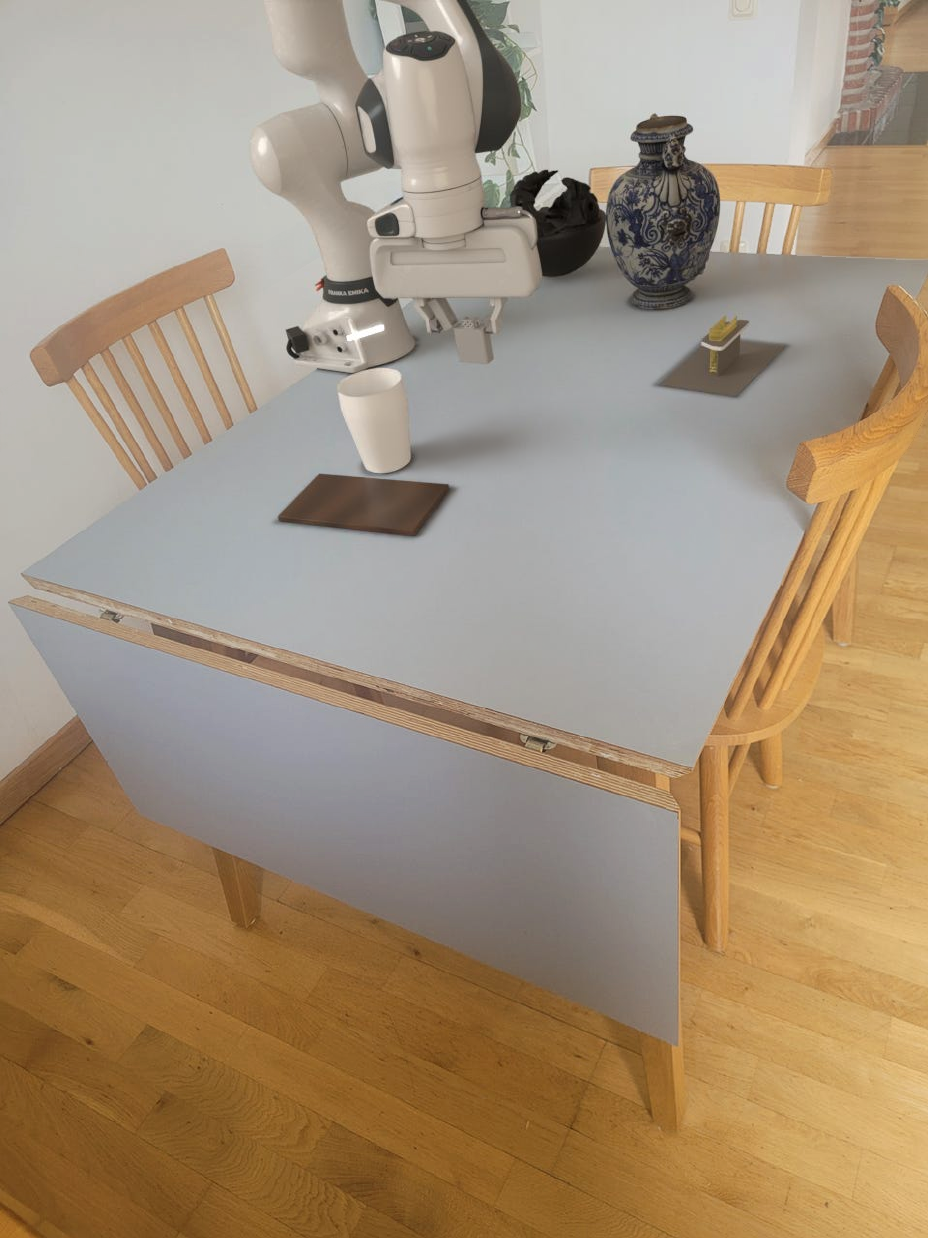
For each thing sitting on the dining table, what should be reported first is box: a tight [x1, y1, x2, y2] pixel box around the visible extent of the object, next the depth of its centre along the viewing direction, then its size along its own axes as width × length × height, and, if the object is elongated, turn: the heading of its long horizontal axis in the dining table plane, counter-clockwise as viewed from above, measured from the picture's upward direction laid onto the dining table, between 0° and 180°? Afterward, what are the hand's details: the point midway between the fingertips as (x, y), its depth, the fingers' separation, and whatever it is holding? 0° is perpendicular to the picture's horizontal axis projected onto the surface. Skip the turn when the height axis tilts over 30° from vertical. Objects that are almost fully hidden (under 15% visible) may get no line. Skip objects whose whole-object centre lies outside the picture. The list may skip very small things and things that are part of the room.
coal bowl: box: [509, 169, 606, 278], centre depth 164 cm, size 20×20×19 cm
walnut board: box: [277, 473, 450, 537], centre depth 111 cm, size 20×11×1 cm, turn 67°
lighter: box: [428, 298, 495, 365], centre depth 102 cm, size 7×2×8 cm, turn 59°
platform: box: [658, 315, 785, 397], centre depth 125 cm, size 12×18×7 cm, turn 143°
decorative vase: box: [605, 112, 721, 311], centre depth 142 cm, size 21×19×28 cm
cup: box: [336, 367, 412, 474], centre depth 116 cm, size 9×9×12 cm
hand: (464, 331), depth 102 cm, fingers closed on lighter, 6 cm apart
